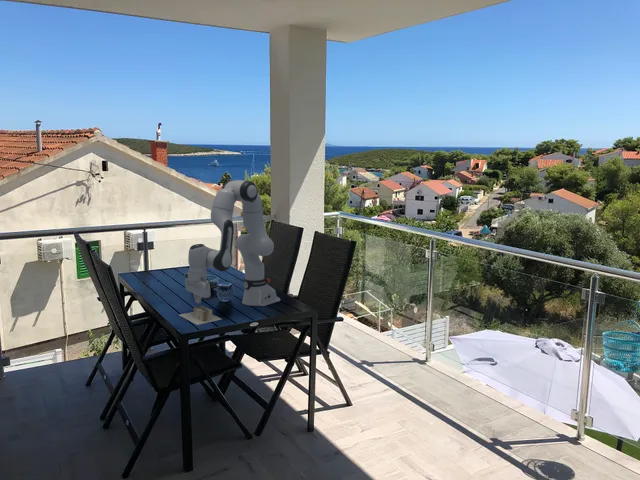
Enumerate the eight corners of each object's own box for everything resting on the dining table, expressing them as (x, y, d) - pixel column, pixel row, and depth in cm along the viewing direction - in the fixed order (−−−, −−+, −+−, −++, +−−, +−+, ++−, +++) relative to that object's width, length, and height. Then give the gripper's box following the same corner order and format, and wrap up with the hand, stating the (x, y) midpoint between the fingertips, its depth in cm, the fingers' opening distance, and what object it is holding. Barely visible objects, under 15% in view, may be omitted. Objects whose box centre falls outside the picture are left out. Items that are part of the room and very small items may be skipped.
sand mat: (203, 310, 256) (203, 309, 256) (222, 320, 241) (222, 319, 241) (178, 315, 246) (178, 314, 246) (197, 325, 232) (197, 324, 232)
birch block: (202, 305, 246) (212, 310, 239) (202, 314, 247) (212, 319, 240) (193, 307, 243) (203, 312, 236) (193, 316, 244) (203, 321, 236)
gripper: (213, 279, 236) (213, 306, 238) (193, 271, 251) (194, 297, 253) (202, 281, 232) (202, 308, 234) (182, 273, 247) (183, 299, 249)
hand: (198, 302), depth 244 cm, fingers closed
